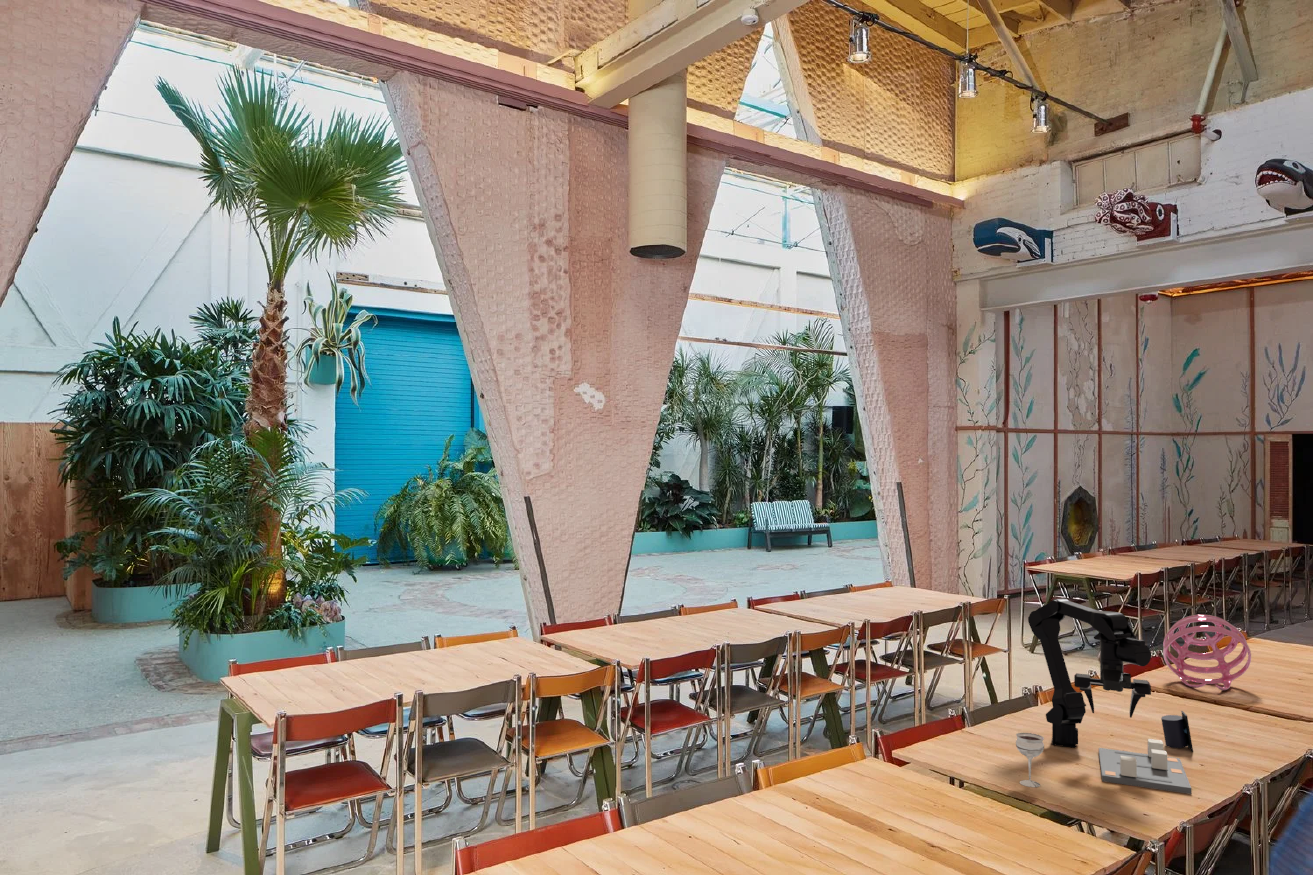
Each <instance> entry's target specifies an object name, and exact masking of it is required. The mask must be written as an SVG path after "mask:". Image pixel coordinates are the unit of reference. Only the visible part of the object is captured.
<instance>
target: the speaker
mask: <svg viewBox="0 0 1313 875" xmlns="http://www.w3.org/2000/svg"><path fill="white" fill-rule="evenodd" d="M1160 719H1161V725H1162V731H1163V736H1164V742H1165V746H1166V747H1169V748H1171V749H1183V748H1188V749H1189V751H1191V753H1193V752H1194V749H1193V743H1192V737H1191V730H1190V724H1189V720H1188V715H1187V714H1186V713H1185V711H1183V710H1181V715H1177V714H1176V715H1175V714H1166V715H1162V716H1161V718H1160Z"/></svg>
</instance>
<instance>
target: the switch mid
mask: <svg viewBox="0 0 1313 875" xmlns="http://www.w3.org/2000/svg"><path fill="white" fill-rule="evenodd" d="M1167 757H1168V753H1167V751H1166V750H1164V749H1163V750H1155V749H1151V765H1152V768H1156V769H1163V770H1167Z"/></svg>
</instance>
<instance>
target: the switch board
mask: <svg viewBox="0 0 1313 875" xmlns="http://www.w3.org/2000/svg"><path fill="white" fill-rule="evenodd" d="M1120 756H1127V757H1135V758H1136V761H1137V777H1130V776H1123V775H1121V771H1120ZM1098 758H1099V766H1100V774H1101V782H1104V783H1105V782H1106V783H1110V784H1111V783H1112V784H1118V785H1119V784H1120V785H1126V786H1133V787H1140V788H1145V789H1155V790H1161V791H1167V792H1176V793H1181V794H1186V795H1187V794H1188V795H1192V790H1193V789H1192V786H1191V784H1190V781H1189V778H1188V776H1187V774H1186V773H1187V772H1186V770H1185V769H1184V766H1183V764H1182V763H1183V762H1182V760H1181V759H1180V758H1179V757H1173V756H1172V757H1171V756H1167V770H1163V769H1156V768H1152V765H1151V757H1149V756H1148V753H1143V752H1134V751H1128V750H1119V749H1113V748H1112V749H1111V748H1106V747H1105V748H1104V747H1098Z"/></svg>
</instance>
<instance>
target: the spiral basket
mask: <svg viewBox="0 0 1313 875" xmlns="http://www.w3.org/2000/svg"><path fill="white" fill-rule="evenodd" d="M1199 622H1209V623H1212V624H1214V625H1215V626H1213V625H1196V626H1189V627H1187V626H1188V624H1191V623H1199ZM1224 626H1226V627H1228V628H1229V629H1230V630H1229V629H1226V628H1225V627H1224ZM1176 629H1178V631H1177V632H1175V630H1176ZM1174 632H1175V633H1174ZM1200 632H1204V634H1205V637H1206V638H1204V639H1203V638H1201V639H1200V638H1196V637H1195V635H1196V634H1197V633H1200ZM1207 632H1211V633H1215V634H1214V635H1213V636H1210V635H1209V634H1208V633H1207ZM1189 634H1190V635H1189ZM1225 636H1228V637H1231V640H1230V641H1229V643H1228V644H1227V645H1226V646H1225V647H1223V648H1222V649H1220V648H1218V646H1217V643H1220V641H1221V640H1223V638H1224V637H1225ZM1179 638H1182V640H1183V641H1184V644H1183V645H1180V644H1179V643H1178V642H1177V639H1179ZM1239 643H1240V644H1242V649H1241V651H1240V653H1239V655H1237V656H1236V657H1235V658H1234V659H1232V660H1231V661H1229V662H1226V660H1225V657H1226V656H1227V655H1230V654H1231V653H1232V652H1234V650H1235V649H1236V647H1237V646H1238V644H1239ZM1162 645H1163V650H1162V653H1163V659H1164V662H1165V663H1166V664H1165V665H1167V667H1168V669H1170V670H1171V671H1172V672H1173V674H1175V675H1176V676H1177V677H1178V678H1179V680H1180V681H1181V682H1182V683H1183V684H1184V685H1185V686H1187V687H1190V688H1193V689H1198V688H1202V687H1205V686H1206V685H1215V686H1216V688H1218V690H1220V691H1222V692H1224V691H1227V690H1229V689H1230V687H1231V685H1232V682H1233V681H1234V680H1235V679H1237V678H1239V677H1241V676H1242V675H1243V674H1244V673H1245V672H1247V670H1248V669H1249V668H1250V665H1251V662H1252V652H1251V649H1250V647H1249V644H1248V642H1247V640H1246V637H1245V636H1244V634H1243V633H1242V632H1241V631H1240V630H1239V629H1238V628H1237V627H1236V626H1235V625H1233V624H1231V623H1230V622H1228V621H1227V620H1225V619H1223V618H1222V617H1219V616H1215V615H1210V614H1194V615H1193V614H1192V615H1189V616H1185V617H1182V618H1181V619H1179V620H1178V621H1176V622H1175V623H1174V624H1173V625H1172V626H1171V628H1169V630H1168V631H1167V632H1166V634H1165V636H1164V638H1163V644H1162ZM1170 645H1171V647H1172V649H1174V650H1175V652H1177V654H1178V656H1177V657H1176V656H1174V655H1173V654H1172V653H1171V652H1170V650H1169V647H1170ZM1190 645H1193V646H1200V647H1205V646H1207V647H1208V646H1210V647H1211V648H1212V651H1211V652H1206V653H1205V652H1204V653H1203V652H1195V651H1192V650H1189V646H1190ZM1246 657H1247V661H1246V663H1245V664H1244V665H1243V666H1242V668H1241V669H1239V670H1238V671H1237V672H1234V673H1231V672H1230V671H1231V670H1232V669H1234V668H1235V667H1237V666H1239V665H1240V664H1241V663H1242V662H1243V661H1244V660H1245V658H1246ZM1185 658H1190V659H1193V660H1199V661H1213V660H1215V661H1217V663H1218V664H1217V665H1216V666H1197V665H1196V666H1195V665H1191V664H1188V663H1186V662H1185ZM1168 659H1169V660H1168ZM1169 661H1171V662H1172V663H1173V664H1174V665H1175V667H1176V668H1175V667H1173V666H1172V664H1171V663H1170V662H1169ZM1184 670H1185V671H1189V672H1192V673H1196V674H1197V673H1199V674H1217V673H1219V674H1221V677H1218V678H1200V677H1194V676H1189V675H1188V674H1186V673H1185V672H1184ZM1189 682H1192V683H1196V684H1191V683H1189ZM1219 684H1220V685H1221V684H1223V686H1220V685H1219Z"/></svg>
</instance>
